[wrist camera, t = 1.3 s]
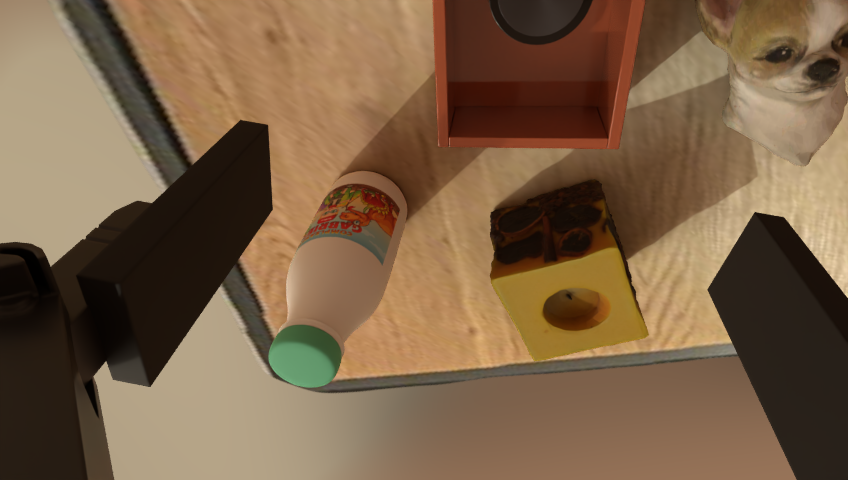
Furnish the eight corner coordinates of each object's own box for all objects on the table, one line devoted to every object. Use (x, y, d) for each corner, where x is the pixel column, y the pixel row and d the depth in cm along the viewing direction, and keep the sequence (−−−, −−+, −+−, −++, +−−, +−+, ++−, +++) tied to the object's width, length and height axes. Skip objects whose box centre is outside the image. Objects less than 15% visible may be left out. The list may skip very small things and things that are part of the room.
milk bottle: (424, 215, 49) (384, 384, 33) (363, 248, 53) (299, 416, 37) (374, 153, 46) (302, 306, 30) (312, 192, 49) (218, 349, 33)
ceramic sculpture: (723, 193, 34) (726, -58, 27) (686, 144, 42) (680, -64, 35) (915, 161, 32) (974, -127, 25) (839, 115, 39) (867, -118, 32)
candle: (488, 210, 48) (484, 279, 40) (598, 173, 44) (618, 241, 36) (526, 289, 53) (529, 364, 45) (628, 262, 49) (651, 338, 41)
